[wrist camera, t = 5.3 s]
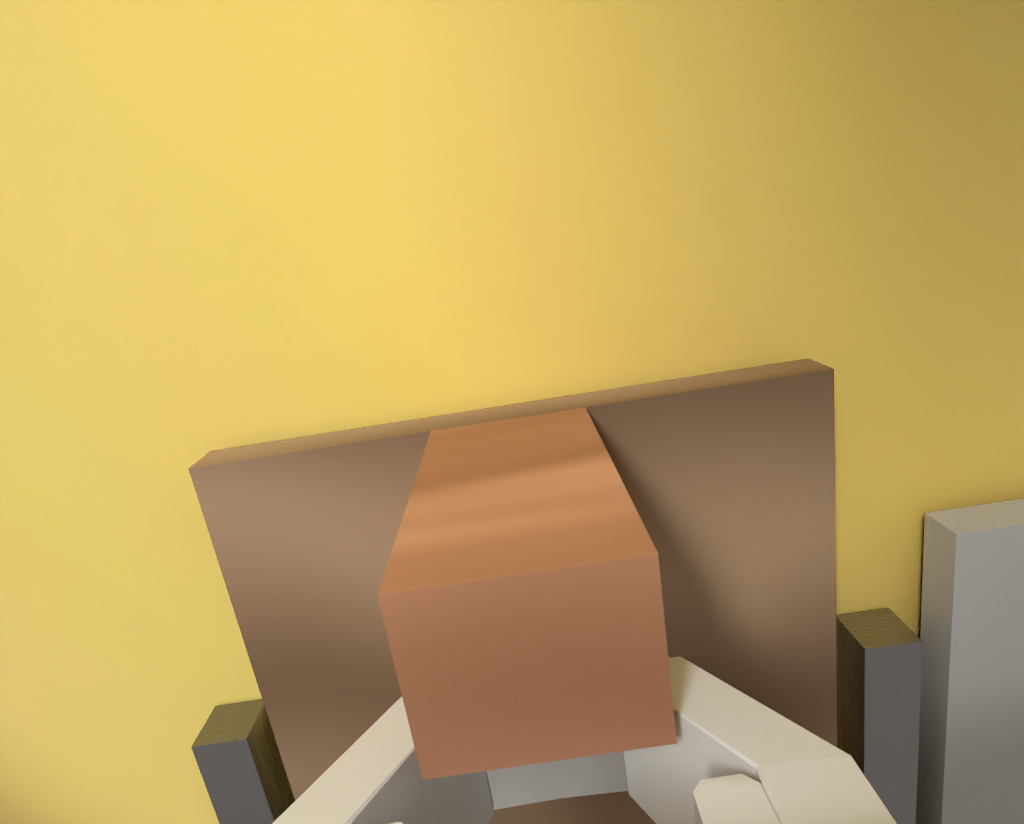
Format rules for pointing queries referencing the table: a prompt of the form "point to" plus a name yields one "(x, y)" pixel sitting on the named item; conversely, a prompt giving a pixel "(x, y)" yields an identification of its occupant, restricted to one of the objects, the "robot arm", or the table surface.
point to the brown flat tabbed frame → (538, 573)
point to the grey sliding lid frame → (972, 666)
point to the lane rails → (860, 727)
